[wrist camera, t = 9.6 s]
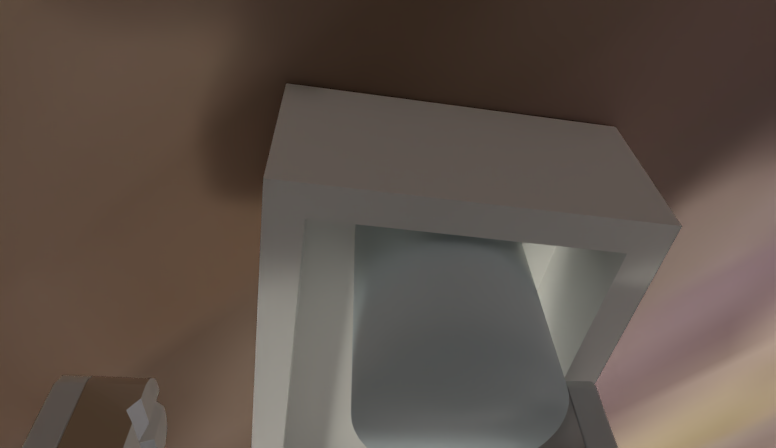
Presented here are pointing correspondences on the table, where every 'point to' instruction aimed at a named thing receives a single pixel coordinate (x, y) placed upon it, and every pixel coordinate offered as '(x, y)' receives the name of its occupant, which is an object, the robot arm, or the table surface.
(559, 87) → the table surface
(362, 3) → the table surface
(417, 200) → the tray
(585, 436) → the robot arm
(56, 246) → the table surface
